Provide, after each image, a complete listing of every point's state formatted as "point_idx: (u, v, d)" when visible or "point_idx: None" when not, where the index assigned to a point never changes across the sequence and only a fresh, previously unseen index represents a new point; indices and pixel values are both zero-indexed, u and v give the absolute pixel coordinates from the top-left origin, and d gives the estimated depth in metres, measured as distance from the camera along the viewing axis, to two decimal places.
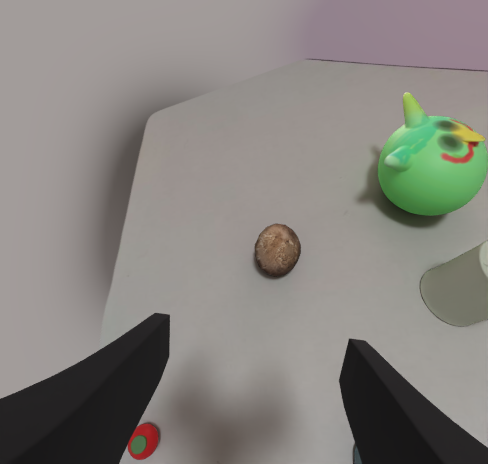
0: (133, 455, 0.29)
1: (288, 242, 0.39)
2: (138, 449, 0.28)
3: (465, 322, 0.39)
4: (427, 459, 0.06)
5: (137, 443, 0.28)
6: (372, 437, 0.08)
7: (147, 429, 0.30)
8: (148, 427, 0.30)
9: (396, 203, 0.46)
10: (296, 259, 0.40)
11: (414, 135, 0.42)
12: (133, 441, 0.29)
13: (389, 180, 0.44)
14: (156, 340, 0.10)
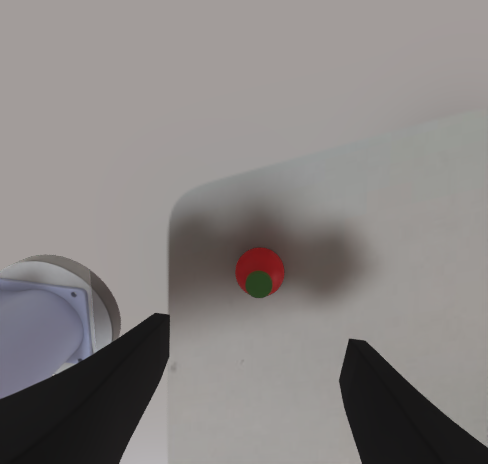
0: (241, 271, 0.17)
1: None
2: (252, 288, 0.16)
3: None
4: (427, 458, 0.06)
5: (260, 284, 0.16)
6: (372, 437, 0.08)
7: (279, 283, 0.17)
8: (281, 282, 0.17)
9: None
10: None
11: None
12: (262, 277, 0.16)
13: None
14: (156, 340, 0.10)
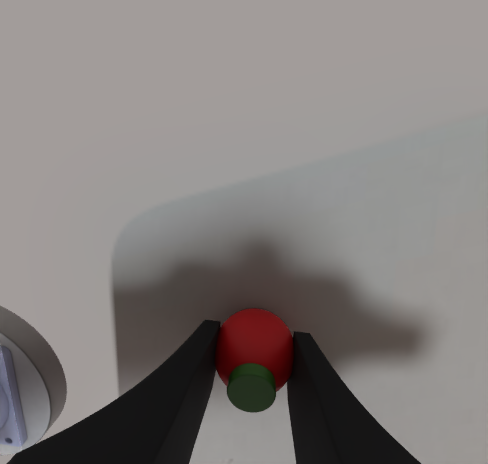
0: (221, 358, 0.10)
1: None
2: (239, 396, 0.09)
3: None
4: (327, 443, 0.06)
5: (254, 391, 0.09)
6: (301, 426, 0.08)
7: (287, 378, 0.10)
8: (290, 374, 0.10)
9: None
10: None
11: None
12: (258, 380, 0.08)
13: None
14: (213, 348, 0.09)
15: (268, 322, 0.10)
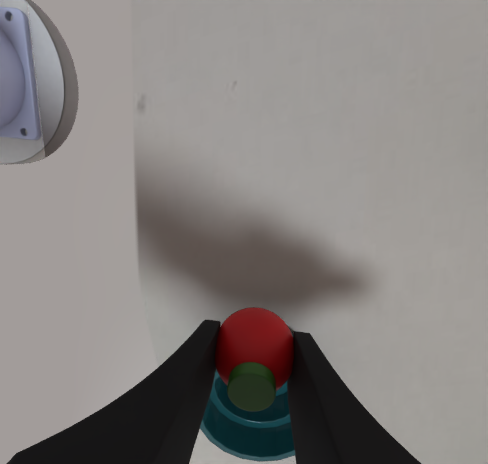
0: (221, 357, 0.10)
1: None
2: (239, 395, 0.09)
3: None
4: (327, 443, 0.06)
5: (254, 390, 0.09)
6: (301, 426, 0.08)
7: (287, 377, 0.10)
8: (290, 373, 0.10)
9: None
10: None
11: None
12: (258, 379, 0.08)
13: None
14: (213, 348, 0.09)
15: (268, 321, 0.10)
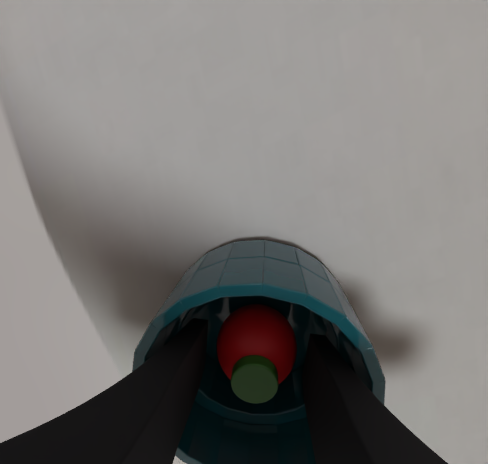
0: (224, 351, 0.10)
1: None
2: (243, 387, 0.09)
3: None
4: (356, 447, 0.06)
5: (257, 382, 0.09)
6: (322, 429, 0.08)
7: (289, 371, 0.10)
8: (292, 367, 0.10)
9: None
10: None
11: None
12: (261, 370, 0.09)
13: None
14: (199, 346, 0.09)
15: (270, 316, 0.10)
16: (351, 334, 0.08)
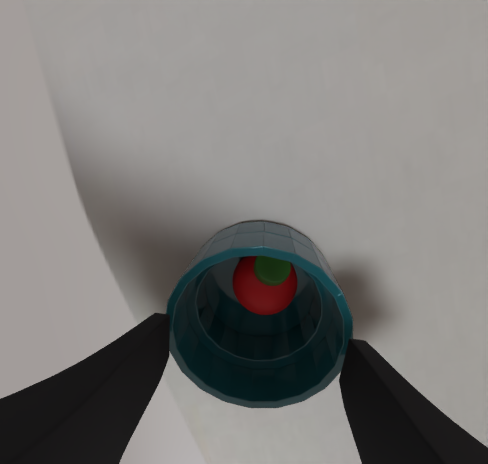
0: (244, 263, 0.13)
1: None
2: (265, 267, 0.12)
3: None
4: (427, 459, 0.06)
5: (275, 262, 0.12)
6: (372, 437, 0.08)
7: (295, 281, 0.13)
8: (296, 284, 0.13)
9: None
10: None
11: None
12: None
13: None
14: (156, 340, 0.10)
15: None
16: (327, 283, 0.11)
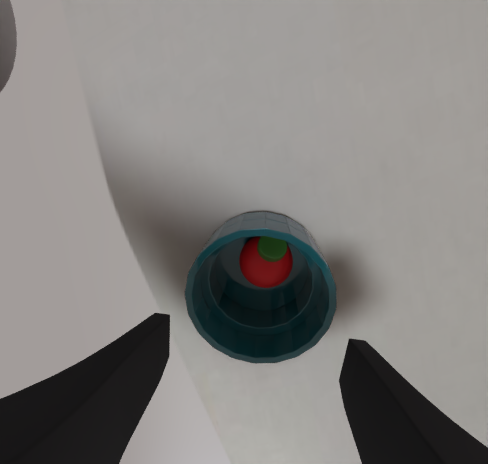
0: (249, 245, 0.15)
1: None
2: (266, 246, 0.14)
3: None
4: (427, 459, 0.06)
5: (274, 243, 0.15)
6: (372, 437, 0.08)
7: (290, 260, 0.15)
8: (292, 262, 0.16)
9: None
10: None
11: None
12: None
13: None
14: (156, 340, 0.10)
15: None
16: (315, 258, 0.13)
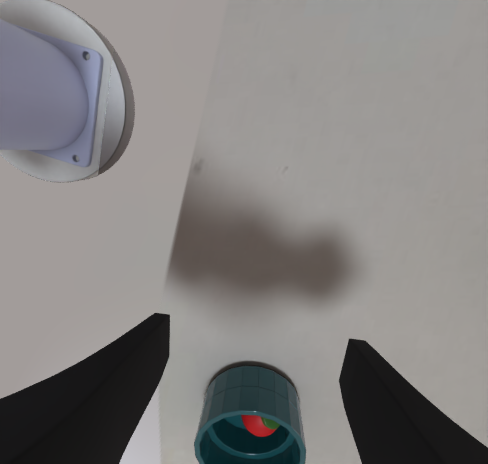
0: None
1: None
2: None
3: None
4: (427, 459, 0.06)
5: None
6: (372, 437, 0.08)
7: None
8: None
9: None
10: None
11: None
12: None
13: None
14: (156, 340, 0.09)
15: None
16: (300, 444, 0.19)
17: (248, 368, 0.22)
